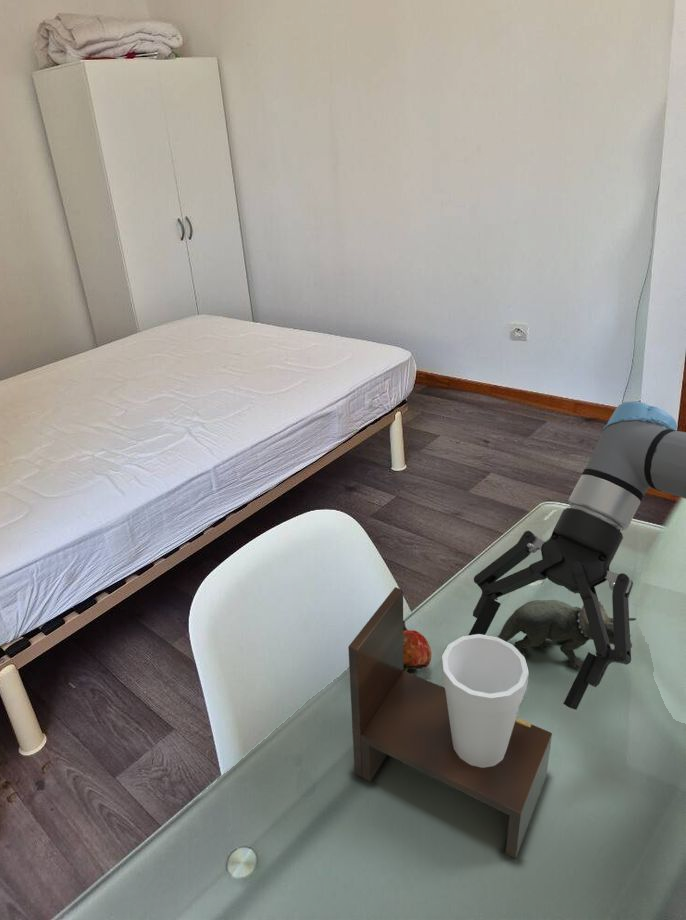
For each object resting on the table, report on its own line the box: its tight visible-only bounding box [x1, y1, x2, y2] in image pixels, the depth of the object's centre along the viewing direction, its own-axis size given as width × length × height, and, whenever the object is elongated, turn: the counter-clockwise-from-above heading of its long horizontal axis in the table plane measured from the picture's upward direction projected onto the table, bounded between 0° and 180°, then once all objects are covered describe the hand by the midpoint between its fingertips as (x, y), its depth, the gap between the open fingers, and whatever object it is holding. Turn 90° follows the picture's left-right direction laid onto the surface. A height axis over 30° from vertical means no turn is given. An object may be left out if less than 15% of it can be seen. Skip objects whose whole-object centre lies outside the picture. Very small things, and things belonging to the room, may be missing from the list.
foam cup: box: [441, 634, 530, 768], centre depth 80 cm, size 10×9×13 cm
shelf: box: [348, 586, 553, 860], centre depth 83 cm, size 21×12×22 cm, turn 57°
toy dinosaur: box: [497, 599, 637, 669], centre depth 103 cm, size 22×8×11 cm, turn 73°
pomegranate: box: [403, 620, 432, 672], centre depth 103 cm, size 7×7×10 cm
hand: (517, 675), depth 83 cm, fingers open, 13 cm apart
